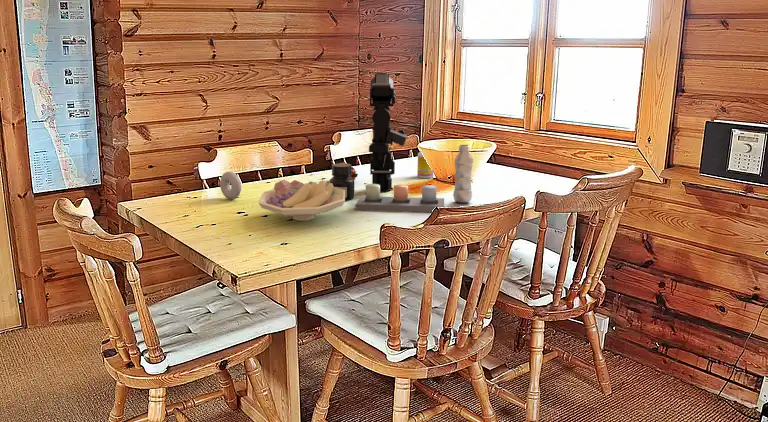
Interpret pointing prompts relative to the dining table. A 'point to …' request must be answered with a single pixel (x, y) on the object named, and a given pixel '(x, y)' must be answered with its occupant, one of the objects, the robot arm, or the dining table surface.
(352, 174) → the dragon fruit
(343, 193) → the dish with food
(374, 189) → the sage button
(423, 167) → the supplement bottle
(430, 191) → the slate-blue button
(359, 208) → the button panel
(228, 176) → the donut
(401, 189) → the terracotta button
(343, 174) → the ink bottle
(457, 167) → the plastic bottle
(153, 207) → the dining table surface
